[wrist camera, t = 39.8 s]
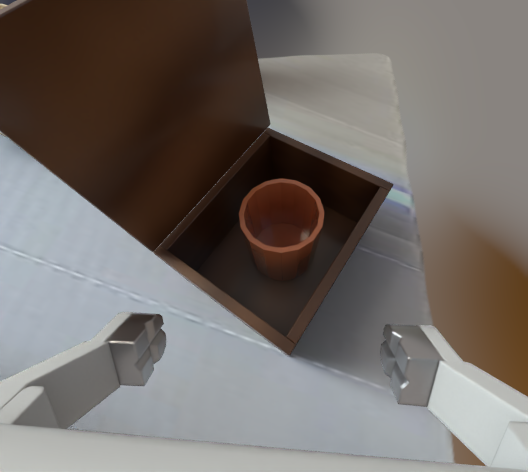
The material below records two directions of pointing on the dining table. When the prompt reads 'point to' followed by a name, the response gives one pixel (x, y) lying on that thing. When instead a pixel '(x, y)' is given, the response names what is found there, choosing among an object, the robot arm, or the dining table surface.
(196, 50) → the lid
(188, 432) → the dining table surface
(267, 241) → the cup
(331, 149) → the dining table surface
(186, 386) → the dining table surface
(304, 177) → the box
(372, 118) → the dining table surface
